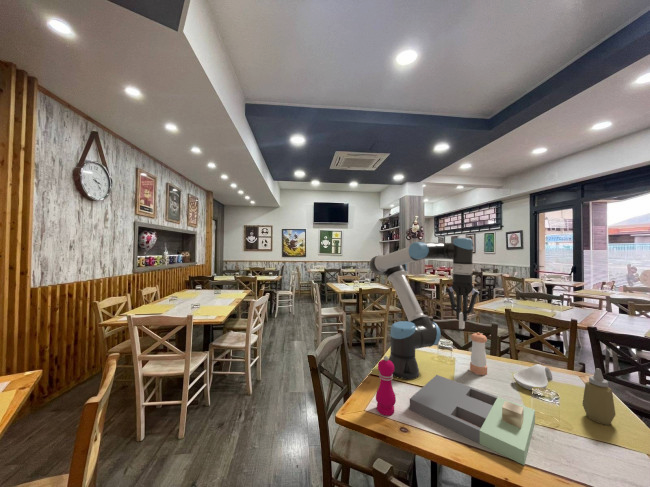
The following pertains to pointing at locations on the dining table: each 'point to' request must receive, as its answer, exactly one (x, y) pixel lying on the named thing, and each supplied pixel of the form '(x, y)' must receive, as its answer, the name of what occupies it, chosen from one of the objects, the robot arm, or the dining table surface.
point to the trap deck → (474, 416)
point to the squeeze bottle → (598, 399)
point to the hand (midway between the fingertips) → (461, 328)
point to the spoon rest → (533, 377)
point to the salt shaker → (478, 354)
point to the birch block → (512, 414)
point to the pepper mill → (385, 388)
